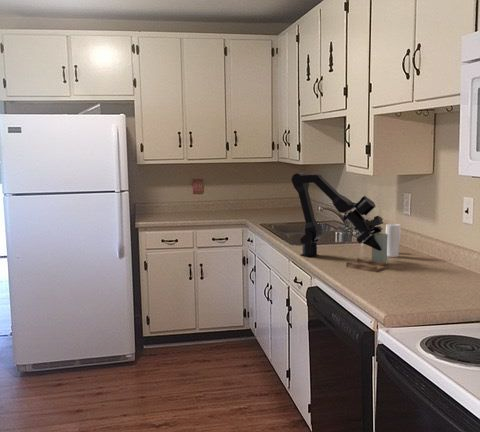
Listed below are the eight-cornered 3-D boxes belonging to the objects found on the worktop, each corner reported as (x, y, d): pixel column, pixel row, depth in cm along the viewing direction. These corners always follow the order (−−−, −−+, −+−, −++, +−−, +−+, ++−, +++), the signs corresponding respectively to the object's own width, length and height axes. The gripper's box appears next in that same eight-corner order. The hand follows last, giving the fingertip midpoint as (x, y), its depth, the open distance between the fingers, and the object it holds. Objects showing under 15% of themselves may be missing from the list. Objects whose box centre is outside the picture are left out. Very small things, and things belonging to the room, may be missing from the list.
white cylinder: (388, 254, 259) (389, 223, 257) (402, 256, 255) (403, 224, 253) (382, 256, 254) (383, 224, 252) (396, 258, 250) (397, 226, 248)
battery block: (371, 263, 238) (372, 232, 237) (375, 262, 243) (376, 231, 241) (382, 265, 236) (384, 233, 234) (386, 263, 240) (387, 232, 238)
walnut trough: (346, 266, 233) (346, 262, 233) (358, 263, 240) (358, 258, 240) (375, 272, 224) (375, 267, 223) (387, 267, 231) (387, 263, 230)
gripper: (364, 212, 230) (389, 240, 226) (378, 208, 246) (402, 234, 242) (346, 229, 236) (370, 257, 231) (361, 224, 251) (384, 250, 247)
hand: (382, 249), depth 238 cm, fingers closed on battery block, 5 cm apart
